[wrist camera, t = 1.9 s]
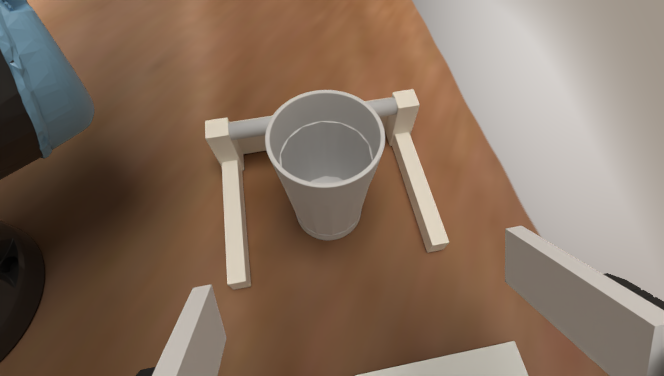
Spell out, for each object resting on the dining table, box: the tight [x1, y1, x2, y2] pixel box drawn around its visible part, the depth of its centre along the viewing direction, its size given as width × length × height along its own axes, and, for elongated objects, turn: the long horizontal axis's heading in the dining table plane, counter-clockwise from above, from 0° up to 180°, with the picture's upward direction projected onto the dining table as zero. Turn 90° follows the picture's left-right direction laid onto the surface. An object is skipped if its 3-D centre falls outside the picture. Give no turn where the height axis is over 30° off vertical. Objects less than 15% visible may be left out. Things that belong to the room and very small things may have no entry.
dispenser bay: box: [205, 89, 449, 290], centre depth 32 cm, size 16×20×6 cm
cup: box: [265, 90, 385, 240], centre depth 28 cm, size 8×8×12 cm
